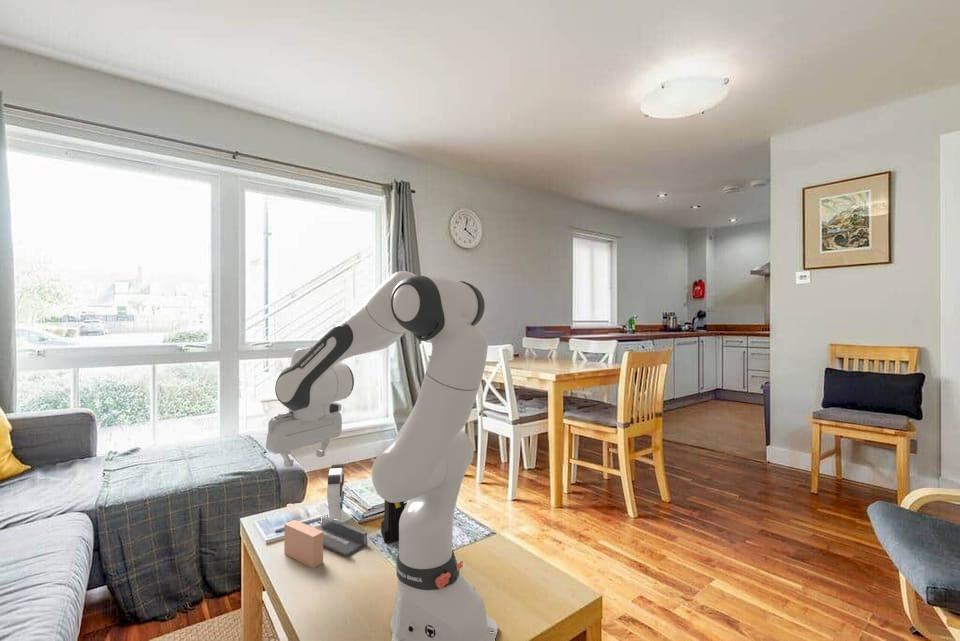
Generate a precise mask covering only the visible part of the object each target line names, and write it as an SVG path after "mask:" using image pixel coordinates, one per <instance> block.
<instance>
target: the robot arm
mask: <svg viewBox="0 0 960 641" xmlns="http://www.w3.org/2000/svg"><path fill="white" fill-rule="evenodd" d="M485 304H486V303H485V299H484V297H483V294H482V292H481V290H480V289H479V288H477V287H476V286H474V285H473V284H471V283H469V282H466V281H462V280H456V279H451V278H448V277H443V276H425V275H417V274H414V273H413V272H410V271H407V270H399V271H396V272H394V273H392V274H391V275H389V276H388V277H386V279H385V280H384V281H383V282H382V283H381V284H379V285H378V287H376V288H375V290H373V291H372V293H371V294H369V296H368V297H367V298H366V299H365V301H364V302H363V303H362V304H361V305H360V306H359V307H358V308H357V309H356V310H355V311H353V313H352V314H350V315H349V316H348V317H347V318H346V319H344V320H343V321H341V322H340V323H338V324H337V325H336V326H334V327H333V328H331V329H330V330H329V331H328V332H327V333H325V334H324V335H323V336H322V337H321V338H320V339H319V340H318V341H317V342H316V343H315V344H314V345H313V346H304V347H303V346H302V347H299V348H296V349H295V350H294V351H293V353H292V355H291V356H292V357H291V360H290V361H291V362H290V365H289V366H286V367H285V368H284V369H283V370H282V371H281V372H280V373H279V375H278V377H277V380H276V381H275V388H274V391H275V395H276V398H277V400H278V401H279V402H280V403H281V404H282V405H283V406H284V407H286V408H287V409H288V410H287V412H284V413H278V414H274V416H273V417H271V418H270V419H269V421H268V424H267V425H268V426H267V427H268V428H267V429H268V430H267V434H266V440H265V441H266V443H265V448H266V450H267V451H268V452H269V453H271V454H275V455H278V454H280V456H281V458H282V459H283V465H284V467H285V468H287V469H288V468H290V467H291V468H292V467H294V462H295V461H294V458H291V457H290V456H289V455H290V454H291V451H292V450H296V449H299V448H303V447H306V446H310V445H313V444H318V443H320V445H319V448H318V449H315V450H316V454H315V456H316V457H317V458H322V457H325V456H326V449H327V447H328V445H329V444H330V440H331V439H335V438H338V437H339V436H340V435H341V433H342V429H343V428H342V426H343V420H342V419H343V417H342V413H341V411H342V404H340V403H338V402H340V401H342V400H344V399H347V398H349V396H351V394H352V391H353V390H354V386H355V376H354V373H353V371H352V369H351V368H350V367H349V366H348V365H347V364H345V363H344V362H343V363H342V362H341V361H345V359H349V358H352V357H354V356H358V355H362V354H367V353H371V352H372V353H373V352H377V351H381V350H384V349H387V348H388V347H390V346H391V345H393V344H394V343H395V342H398V340H400V339H401V337H403V336H404V335H405V333H406V332H407V331H409V332H410V333H412V334H413V336H415V338H416V339H418V340H419V341H421V342H426V341H428V340H430V343H431V354H430V359H429V361H428V364H427V367H426V371H425V373H424V377H423V380H422V383H421V387H420V389H419V392H418V394H417V399H416V401H415V404H414V405H413V408H412V409H411V411H410V413H409V415H408V417H407V419H406V420H405V421H404V424H403V425H402V426H401V428H400V430H398V433H397V434H396V436H395V437H394V438H393V440H391V442H390V443H389V444H388V445H387V447H386V448H384V450H382V452H380V454H378V455H377V456H376V457H375V459H374V461H373V463H372V466H371V467H372V468H371V481H372V484H373V487H374V489H375V491H376V494H378V496H380V498H382V499H383V500H384V501H385V500H386V501H388V502H391V503H397V502H402V501H404V502H406V501H408V502H407V504H406V506H404V510H403V512H402V514H401V517H400V520H399V541H398V553H397V555H396V565H395V566H396V567H395V568H396V577H397V587H396V596H395V597H396V598H395V602H394V607H393V608H394V609H393V612H392V615H391V619H390V623H389V627H390V631H391V635H392V636H391V641H494V639H495V637H496V635H497V632H498V633H499V630H498V629H499V627H498V623H497V622H496V620H493V619H492V618H491V617H489V616H488V615H487V610H486V605H485V601H484V598H482V596H480V594H479V593H478V592H477V591H476V588H475V587H474V585H473V584H470V582H468V581H467V580H466V578H465V577H464V576H463V574H461V573H460V570H461V569H462V568H463V567H464V564H463V563H464V560H461V561H460V562H458V560H457V557H456V554H455V553H454V552H455V551H454V550H453V538H454V537H453V536H454V535H453V532H454V531H453V530H454V516H455V510H456V506H457V501H458V497H459V493H460V489H461V486H462V484H463V479H464V478H465V475H466V472H467V470H468V469H469V467H470V465H471V464H472V462H473V461H474V456H475V455H474V454H475V451H474V445H473V442H472V439H471V438H470V436H469V435H468V434H467V433H466V432H465V431H463V430H462V429H463V428H464V427H465V426H466V425H467V423H468V421H469V419H470V416H471V414H472V411H473V410H472V409H473V407H474V404H475V401H476V398H477V395H478V392H479V388H480V386H481V383H482V379H483V376H484V372H485V368H486V363H487V362H486V361H487V356H488V349H489V348H488V347H489V341H488V338H487V336H486V334H485V333H484V332H483V331H482V330H481V329H479V328H478V327H476V325H477V324H479V323H480V321H481V320H482V319H483V316H484V314H485ZM490 632H494V633H490ZM497 636H498V635H497Z"/></svg>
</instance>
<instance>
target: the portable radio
mask: <svg viewBox="0 0 960 641" xmlns="http://www.w3.org/2000/svg"><path fill="white" fill-rule="evenodd" d="M404 508H405V501H402V502H397V503H391V502H388V501H386V500H384V510H383V511H384V515H383V516H384V518H383V520H382V521H381V523H380V533H381V536H382V539H383V543H394V542H399V520H400V517H401V514H402V512H403V510H404Z"/></svg>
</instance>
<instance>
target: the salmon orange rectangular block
mask: <svg viewBox="0 0 960 641" xmlns="http://www.w3.org/2000/svg"><path fill="white" fill-rule="evenodd" d="M306 524H307V523H306ZM306 524H305V523H303V522H301V521H298V520H296V519H293V520H291V521H289V522H286V523H284V527H283V528H284V531H283V532H284V535H283V536H284V537H283V538H284V540H283V542H284V544H283V545H284V550H283V552H284V554H285V555H286V556H288V557H291V558H292V559H294V560H296V561H298V562H300V563H302V564H305V565H306V566H308V567H310V568H312V569H314V568H316V567H318V566H319V565H321V564H323V563H324V547H323V532H322V531H320V530H318V529H315V528H316V527H315V528H313V527H314V526H313V527H310V526H311V525H310V526H308V525H309V524H308V525H306Z"/></svg>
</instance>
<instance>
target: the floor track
mask: <svg viewBox="0 0 960 641" xmlns="http://www.w3.org/2000/svg"><path fill="white" fill-rule="evenodd" d="M306 525H308V526H310V527H313V528H315V529H318V530H320V531H322V532H323V549H324V548H325V549H326V550H330V551H331V552H334V553H336V554H338V555H340V556H342V557H344V558H347V557H349V556H350V555H353V554H355V553H356V552H358V551H359V550H361V549H362V548H364V547H367V546H368V532H367V531H364V530H361V529H359V528H357V527H354V526H352V525H349V524H347V523H345V522H344V523H342V522H339V521H337V520H334V519H332V518H329V517H327V516H323V517H321V524H320V525H321V526H320V527H318V528H317V527H316V526H312V525H310V524H307V523H306Z"/></svg>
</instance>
